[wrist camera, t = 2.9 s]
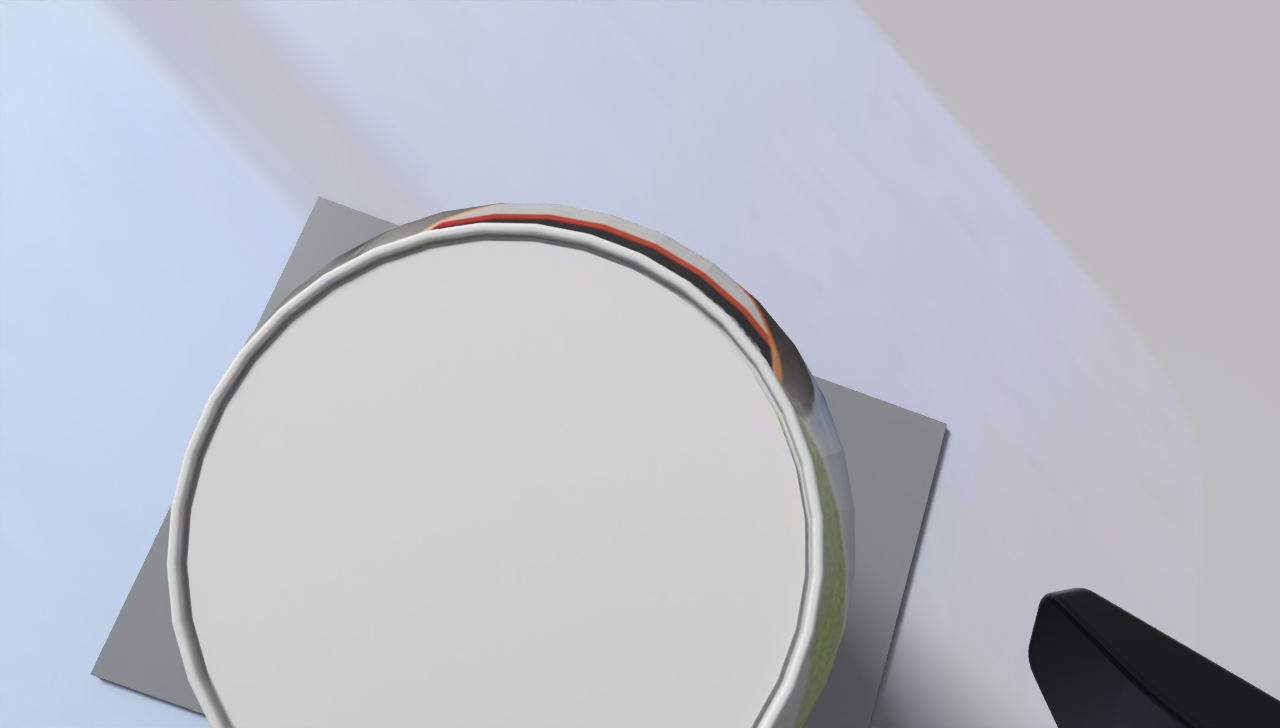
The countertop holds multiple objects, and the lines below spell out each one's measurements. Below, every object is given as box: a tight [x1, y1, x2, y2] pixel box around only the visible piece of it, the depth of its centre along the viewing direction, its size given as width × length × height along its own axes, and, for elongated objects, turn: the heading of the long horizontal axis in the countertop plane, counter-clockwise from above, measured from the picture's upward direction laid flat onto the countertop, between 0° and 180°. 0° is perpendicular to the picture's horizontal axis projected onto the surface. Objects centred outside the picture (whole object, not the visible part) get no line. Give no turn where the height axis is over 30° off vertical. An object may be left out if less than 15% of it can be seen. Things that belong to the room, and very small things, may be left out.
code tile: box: [91, 197, 947, 728], centre depth 19 cm, size 14×10×1 cm
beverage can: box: [167, 203, 855, 728], centre depth 13 cm, size 6×7×12 cm
